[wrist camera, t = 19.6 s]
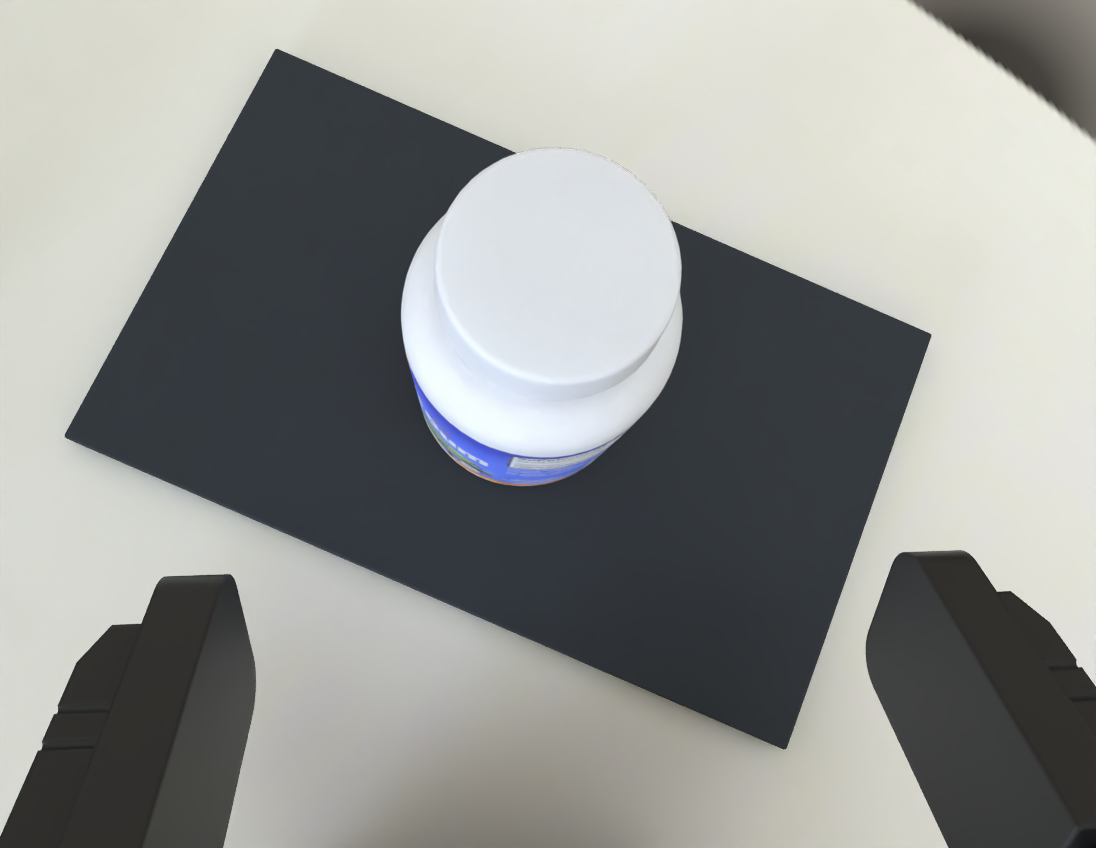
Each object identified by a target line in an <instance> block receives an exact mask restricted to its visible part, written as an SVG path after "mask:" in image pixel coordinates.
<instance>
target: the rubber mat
mask: <svg viewBox="0 0 1096 848" xmlns="http://www.w3.org/2000/svg"><path fill="white" fill-rule="evenodd" d="M513 154H516V153H515V152H512V151H510V150H508V149H506V148H503V147H501V146H499V145H496V144H494V143H492V142H490V141H487V140H485V139H483V138H480V137H478V136H476V135H474V134H471V133H469V132H467V131H464V130H462V129H460V128H457V127H455V126H453V125H451V124H448V123H446V122H444V121H441V120H439V119H437V118H435V117H432V116H430V115H428V114H425V113H423V112H421V111H419V110H416V109H414V108H412V107H409V106H407V105H405V104H402V103H400V102H398V101H396V100H393V99H391V98H389V97H386V96H384V95H382V94H380V93H377V92H375V91H373V90H370V89H368V88H366V87H364V86H361V85H359V84H357V83H354V82H352V81H350V80H347V79H345V78H343V77H341V76H338V75H336V74H334V73H331V72H329V71H327V70H325V69H322V68H320V67H318V66H315V65H313V64H311V63H309V62H306V61H304V60H302V59H299V58H297V57H295V56H292V55H290V54H288V53H286V52H283V51H281V50H279V49H276V50H275V51H274V53H273V55H272V57H271V58H270V60H269V62H268V64H267V66H266V67H265V69H264V71H263V73H262V75H261V77H260V78H259V80H258V82H257V84H256V86H255V88H254V89H253V91H252V93H251V95H250V97H249V99H248V100H247V102H246V104H245V106H244V108H243V110H242V111H241V113H240V115H239V117H238V119H237V121H236V122H235V124H234V126H233V128H232V130H231V132H230V133H229V135H228V137H227V139H226V141H225V143H224V144H223V146H222V148H221V150H220V152H219V154H218V155H217V157H216V159H215V161H214V163H213V164H212V166H211V168H210V170H209V172H208V174H207V175H206V177H205V179H204V181H203V183H202V185H201V186H200V188H199V190H198V192H197V194H196V196H195V197H194V199H193V201H192V203H191V205H190V207H189V208H188V210H187V212H186V214H185V216H184V218H183V219H182V221H181V223H180V225H179V227H178V229H177V230H176V232H175V234H174V236H173V238H172V240H171V241H170V243H169V245H168V247H167V249H166V251H165V252H164V254H163V256H162V258H161V260H160V262H159V263H158V265H157V267H156V269H155V271H154V272H153V274H152V276H151V278H150V280H149V282H148V283H147V285H146V287H145V289H144V291H143V293H142V294H141V296H140V298H139V300H138V302H137V304H136V305H135V307H134V309H133V311H132V313H131V315H130V316H129V318H128V320H127V322H126V324H125V326H124V327H123V329H122V331H121V333H120V335H119V337H118V338H117V340H116V342H115V344H114V346H113V348H112V349H111V351H110V353H109V355H108V357H107V359H106V360H105V362H104V364H103V366H102V368H101V369H100V371H99V373H98V375H97V377H96V379H95V380H94V382H93V384H92V386H91V388H90V390H89V391H88V393H87V395H86V397H85V399H84V401H83V402H82V404H81V406H80V408H79V410H78V412H77V413H76V415H75V417H74V419H73V421H72V423H71V424H70V426H69V428H68V430H67V432H66V434H65V437H66V438H67V439H69V440H72V441H74V442H76V443H79V444H81V445H83V446H85V447H88V448H90V449H92V450H95V451H97V452H99V453H102V454H104V455H106V456H108V457H111V458H113V459H115V460H118V461H120V462H122V463H125V464H127V465H129V466H132V467H134V468H136V469H138V470H141V471H143V472H145V473H148V474H150V475H152V476H155V477H157V478H159V479H162V480H164V481H166V482H168V483H171V484H173V485H175V486H178V487H180V488H182V489H185V490H187V491H189V492H191V493H194V494H196V495H198V496H201V497H203V498H205V499H208V500H210V501H212V502H215V503H217V504H219V505H221V506H224V507H226V508H228V509H231V510H233V511H235V512H238V513H240V514H242V515H244V516H247V517H249V518H251V519H254V520H256V521H258V522H261V523H263V524H265V525H268V526H270V527H272V528H274V529H277V530H279V531H281V532H284V533H286V534H288V535H291V536H293V537H295V538H298V539H300V540H302V541H304V542H307V543H309V544H311V545H314V546H316V547H318V548H321V549H323V550H325V551H327V552H330V553H332V554H334V555H337V556H339V557H341V558H344V559H346V560H348V561H351V562H353V563H355V564H357V565H360V566H362V567H364V568H367V569H369V570H371V571H374V572H376V573H378V574H380V575H383V576H385V577H387V578H390V579H392V580H394V581H397V582H399V583H401V584H404V585H406V586H408V587H410V588H413V589H415V590H417V591H420V592H422V593H424V594H427V595H429V596H431V597H434V598H436V599H438V600H440V601H443V602H445V603H447V604H450V605H452V606H454V607H457V608H459V609H461V610H463V611H466V612H468V613H470V614H473V615H475V616H477V617H480V618H482V619H484V620H487V621H489V622H491V623H493V624H496V625H498V626H500V627H503V628H505V629H507V630H510V631H512V632H514V633H516V634H519V635H521V636H523V637H526V638H528V639H530V640H533V641H535V642H537V643H540V644H542V645H544V646H546V647H549V648H551V649H553V650H556V651H558V652H560V653H563V654H565V655H567V656H570V657H572V658H574V659H576V660H579V661H581V662H583V663H586V664H588V665H590V666H593V667H595V668H597V669H599V670H602V671H604V672H606V673H609V674H611V675H613V676H616V677H618V678H620V679H623V680H625V681H627V682H629V683H632V684H634V685H636V686H639V687H641V688H643V689H646V690H648V691H650V692H652V693H655V694H657V695H659V696H662V697H664V698H666V699H669V700H671V701H673V702H676V703H678V704H680V705H682V706H685V707H687V708H689V709H692V710H694V711H696V712H699V713H701V714H703V715H706V716H708V717H710V718H712V719H715V720H717V721H719V722H722V723H724V724H726V725H729V726H731V727H733V728H735V729H738V730H740V731H742V732H745V733H747V734H749V735H752V736H754V737H756V738H759V739H761V740H763V741H765V742H768V743H770V744H772V745H775V746H777V747H779V748H782V749H786V748H787V746H788V743H789V740H790V737H791V734H792V732H793V729H794V726H795V723H796V720H797V717H798V714H799V712H800V709H801V706H802V703H803V700H804V697H805V694H806V692H807V689H808V686H809V683H810V680H811V677H812V675H813V672H814V669H815V666H816V663H817V660H818V657H819V655H820V652H821V649H822V646H823V643H824V640H825V638H826V635H827V632H828V629H829V626H830V623H831V620H832V618H833V615H834V612H835V609H836V606H837V603H838V600H839V598H840V595H841V592H842V589H843V586H844V583H845V581H846V578H847V575H848V572H849V569H850V566H851V563H852V561H853V558H854V555H855V552H856V549H857V546H858V544H859V541H860V538H861V535H862V532H863V529H864V526H865V524H866V521H867V518H868V515H869V512H870V509H871V506H872V504H873V501H874V498H875V495H876V492H877V489H878V487H879V484H880V481H881V478H882V475H883V472H884V469H885V467H886V464H887V461H888V458H889V455H890V452H891V450H892V447H893V444H894V441H895V438H896V435H897V432H898V430H899V427H900V424H901V421H902V418H903V415H904V413H905V410H906V407H907V404H908V401H909V398H910V395H911V393H912V390H913V387H914V384H915V381H916V378H917V375H918V373H919V370H920V367H921V364H922V361H923V358H924V356H925V353H926V350H927V347H928V344H929V341H930V338H931V334H930V333H927V332H925V331H923V330H920V329H918V328H916V327H914V326H911V325H909V324H907V323H904V322H902V321H900V320H897V319H895V318H893V317H891V316H888V315H886V314H884V313H881V312H879V311H877V310H875V309H872V308H870V307H868V306H865V305H863V304H861V303H859V302H856V301H854V300H852V299H849V298H847V297H845V296H842V295H840V294H838V293H836V292H833V291H831V290H829V289H826V288H824V287H822V286H820V285H817V284H815V283H813V282H810V281H808V280H806V279H804V278H801V277H799V276H797V275H794V274H792V273H790V272H787V271H785V270H783V269H781V268H778V267H776V266H774V265H771V264H769V263H767V262H765V261H762V260H760V259H758V258H755V257H753V256H751V255H749V254H746V253H744V252H742V251H739V250H737V249H735V248H732V247H730V246H728V245H726V244H723V243H721V242H719V241H716V240H714V239H712V238H710V237H707V236H705V235H703V234H700V233H698V232H696V231H694V230H691V229H689V228H687V227H684V226H682V225H680V224H677V223H675V222H673V221H671V220H670V221H671V223H672V226H673V228H674V231H675V234H676V237H677V240H678V245H679V249H680V256H681V265H682V270H681V285H680V297H681V304H682V316H683V321H682V332H681V340H680V346H679V351H678V355H677V358H676V361H675V364H674V367H673V369H672V372H671V374H670V376H669V378H668V380H667V382H666V384H665V386H664V388H663V389H662V391H661V393H660V394H659V396H658V397H657V398H656V400H655V401H654V402H653V403H652V405H651V406H650V407H649V408H648V410H647V411H646V412H645V413H644V414H643V415H642V416H641V417H640V418H639V419H638V420H637V422H635V423H634V424H633V425H632V426H631V427H630V428H629V429H628V430H627V431H626V432H625V433H624V434H623V435H622V436H621V437H620V438H619V439H617V440H616V441H615V442H614V443H613V444H612V445H611V446H610V447H609V448H607V449H606V450H605V451H604V452H603V453H602V454H601V455H600V456H599V457H597V458H596V459H595V460H594V461H593V462H591V463H590V464H589V465H587V466H586V467H585V468H583V469H581V470H580V471H578V472H577V473H575V474H573V475H571V476H569V477H566V478H564V479H561V480H558V481H555V482H552V483H547V484H542V485H534V486H515V485H505V484H500V483H496V482H492V481H489V480H486V479H484V478H481V477H479V476H477V475H475V474H473V473H471V472H470V471H468V470H467V469H465V468H464V467H462V466H461V465H460V464H458V463H457V462H456V461H454V460H453V459H452V458H451V457H450V456H449V455H448V454H447V453H446V452H445V450H444V449H443V448H442V447H441V446H440V444H439V443H438V442H437V440H436V439H435V437H434V436H433V434H432V432H431V430H430V429H429V427H428V425H427V422H426V420H425V418H424V415H423V412H422V409H421V405H420V402H419V398H418V395H417V391H416V388H415V384H414V380H413V377H412V374H411V371H410V367H409V364H408V360H407V356H406V351H405V346H404V341H403V334H402V324H401V305H402V296H403V290H404V285H405V280H406V276H407V273H408V270H409V267H410V265H411V262H412V260H413V258H414V255H415V253H416V251H417V249H418V248H419V246H420V244H421V243H422V241H423V239H424V238H425V237H426V235H427V234H428V232H429V231H430V230H431V229H432V228H433V226H434V225H435V224H436V223H437V222H438V221H439V220H440V219H441V218H442V217H443V216H444V215H445V214H446V213H447V211H448V209H449V207H450V206H451V204H452V203H453V201H454V200H455V198H456V197H457V195H458V194H459V193H460V191H461V190H462V189H463V188H464V187H465V186H466V185H467V184H468V183H469V182H470V181H471V180H472V179H473V178H474V177H475V176H476V175H478V174H479V173H480V172H481V171H482V170H484V169H486V168H487V167H489V166H491V165H492V164H494V163H496V162H497V161H499V160H501V159H503V158H506V157H508V156H511V155H513Z"/></svg>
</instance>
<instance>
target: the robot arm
mask: <svg viewBox="0 0 1096 848" xmlns="http://www.w3.org/2000/svg"><path fill="white" fill-rule="evenodd" d="M866 662H867V668H868V672H869V676H870V679H871V682H872V685H873V687H874V689H875V691H876V694H877V696H878V698H879V700H880V702H881V704H882V706H883V709H884V711H885V713H886V715H887V717H888V719H889V721H890V724H891V726H892V728H893V730H894V732H895V734H896V736H897V739H898V741H899V743H900V745H901V747H902V749H903V751H904V753H905V756H906V758H907V760H908V762H909V764H910V766H911V768H912V771H913V773H914V775H915V777H916V779H917V781H918V783H919V786H920V788H921V790H922V792H923V794H924V796H925V798H926V801H927V803H928V805H929V807H930V809H931V811H932V813H933V815H934V818H935V820H936V822H937V824H938V826H939V828H940V830H941V833H942V835H943V837H944V839H945V841H946V843H947V845H948V848H1096V686H1095V685H1094V683H1093V682H1092V681H1091V679H1090V678H1089V677H1088V675H1087V674H1086V672H1085V671H1084V670H1083V668H1082V667H1079V668H1078V667H1077V665H1076V658H1075V657H1074V656H1073V654H1072V653H1071V651H1070V650H1069V649H1068V647H1067V646H1066V644H1065V643H1064V642H1063V640H1062V639H1061V637H1060V636H1059V635H1058V633H1057V632H1056V631H1055V629H1054V628H1053V626H1052V625H1051V624H1050V622H1048V621H1047V620H1046V619H1045V618H1043V617H1042V616H1041V615H1040V614H1038V613H1037V612H1036V611H1035V610H1033V609H1032V608H1031V607H1030V606H1028V605H1027V604H1026V603H1025V602H1024V601H1022V600H1021V599H1020V598H1019V597H1017V596H1016V595H1015V594H1014V593H1012V592H1011V591H1005V592H997V591H996V590H995V588H994V587H993V585H992V584H991V582H990V581H989V579H988V578H987V576H986V575H985V573H984V572H983V570H982V569H981V568H980V566H979V565H978V563H977V562H976V560H975V559H974V558H973V557H972V556H971V555H970V554H969V553H967V552H965V551H962V550H956V551H928V552H903V553H900V554H899V555H898V556H897V557H896V558H895V560H894V561H893V564H892V566H891V569H890V572H889V575H888V578H887V580H886V583H885V586H884V589H883V592H882V594H881V597H880V600H879V603H878V606H877V609H876V611H875V614H874V617H873V620H872V623H871V626H870V628H869V631H868V635H867V640H866ZM255 692H256V671H255V661H254V656H253V652H252V648H251V644H250V640H249V635H248V631H247V627H246V623H245V619H244V615H243V610H242V606H241V602H240V598H239V594H238V590H237V586H236V582H235V580H234V578H233V577H232V575H230V574H224V575H196V576H168V577H163V578H161V579H160V581H159V582H158V584H157V585H156V587H155V590H154V592H153V595H152V597H151V600H150V603H149V605H148V608H147V611H146V613H145V616H144V618H143V621H142V624H125V625H112V626H111V627H110V628H109V629H108V630H107V631H106V632H105V633H104V634H103V635H102V636H101V637H100V638H99V639H98V641H97V642H96V643H95V644H94V645H93V646H92V647H91V648H90V649H89V650H88V651H87V652H86V653H85V654H84V655H83V656H82V658H81V659H80V660H79V661H78V662H77V663H76V665H75V668H74V670H73V672H72V674H71V677H70V679H69V681H68V684H67V686H66V688H65V690H64V693H63V695H62V697H61V700H60V702H59V704H58V713H57V714H54V715H53V718H52V720H51V722H50V725H49V727H48V729H47V731H46V734H45V736H44V738H43V741H42V743H43V746H42V750H41V751H38V752H37V754H36V756H35V759H34V761H33V763H32V766H31V768H30V770H29V772H28V775H27V777H26V779H25V782H24V784H23V786H22V788H21V791H20V793H19V795H18V797H17V800H16V802H15V804H14V807H13V809H12V811H11V813H10V816H9V818H8V820H7V823H6V825H5V827H4V829H3V832H2V834H1V836H0V848H223V846H224V841H225V837H226V832H227V828H228V823H229V819H230V814H231V810H232V805H233V801H234V796H235V792H236V787H237V783H238V778H239V774H240V769H241V765H242V760H243V756H244V751H245V747H246V742H247V738H248V733H249V729H250V724H251V720H252V715H253V710H254V703H255Z"/></svg>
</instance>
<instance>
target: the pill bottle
mask: <svg viewBox="0 0 1096 848" xmlns="http://www.w3.org/2000/svg"><path fill="white" fill-rule="evenodd" d="M681 270H682V265H681V256H680V249H679V245H678V240H677V237H676V234H675V231H674V228H673V226H672V223H671V221H670V219H669V217H668V215H667V213H666V212H665V210H664V208H663V206H662V205H661V203H660V202H659V201H658V199H657V198H656V197H655V195H654V194H653V193H652V192H651V190H650V189H649V188H648V187H647V186H646V185H645V184H644V183H643V182H642V181H641V180H639V179H638V178H637V177H636V176H635V175H633V174H632V173H631V172H629V171H628V170H627V169H625V168H624V167H622V166H620V165H619V164H617V163H615V162H613V161H612V160H608V159H607V158H605V157H602V156H599V155H596V154H593V153H590V152H587V151H583V150H577V149H570V148H561V147H553V148H539V149H532V150H527V151H523V152H519V153H516V154H513V155H511V156H508V157H506V158H503V159H501V160H499V161H497V162H496V163H494V164H492V165H491V166H489V167H487V168H486V169H484V170H482V171H481V172H480V173H479V174H478V175H476V176H475V177H474V178H473V179H472V180H471V181H470V182H469V183H468V184H467V185H466V186H465V187H464V188H463V189H462V190H461V191H460V193H459V194H458V195H457V197H456V198H455V200H454V201H453V203H452V204H451V206H450V207H449V209H448V211H447V213H446V214H445V215H444V216H443V217H442V218H441V219H440V220H439V221H438V222H437V223H436V224H435V225H434V226H433V228H432V229H431V230H430V231H429V232H428V234H427V235H426V237H425V238H424V239H423V241H422V243H421V244H420V246H419V248H418V249H417V251H416V253H415V255H414V258H413V260H412V262H411V265H410V267H409V270H408V273H407V276H406V280H405V285H404V290H403V296H402V305H401V324H402V334H403V341H404V346H405V351H406V356H407V360H408V364H409V367H410V371H411V374H412V377H413V380H414V384H415V388H416V391H417V395H418V398H419V402H420V405H421V409H422V412H423V415H424V418H425V420H426V422H427V425H428V427H429V429H430V430H431V432H432V434H433V436H434V437H435V439H436V440H437V442H438V443H439V444H440V446H441V447H442V448H443V449H444V450H445V452H446V453H447V454H448V455H449V456H450V457H451V458H452V459H453V460H454V461H456V462H457V463H458V464H460V465H461V466H462V467H464V468H465V469H467V470H468V471H470V472H471V473H473V474H475V475H477V476H479V477H481V478H484V479H486V480H489V481H492V482H496V483H500V484H505V485H515V486H534V485H542V484H547V483H552V482H555V481H558V480H561V479H564V478H566V477H569V476H571V475H573V474H575V473H577V472H578V471H580V470H581V469H583V468H585V467H586V466H587V465H589V464H590V463H591V462H593V461H594V460H595V459H596V458H597V457H599V456H600V455H601V454H602V453H603V452H604V451H605V450H606V449H607V448H609V447H610V446H611V445H612V444H613V443H614V442H615V441H616V440H617V439H619V438H620V437H621V436H622V435H623V434H624V433H625V432H626V431H627V430H628V429H629V428H630V427H631V426H632V425H633V424H634V423H635V422H637V420H638V419H639V418H640V417H641V416H642V415H643V414H644V413H645V412H646V411H647V410H648V408H649V407H650V406H651V405H652V403H653V402H654V401H655V400H656V398H657V397H658V396H659V394H660V393H661V391H662V389H663V388H664V386H665V384H666V382H667V380H668V378H669V376H670V374H671V372H672V369H673V367H674V364H675V361H676V358H677V355H678V351H679V346H680V340H681V332H682V321H683V316H682V304H681V297H680V285H681Z"/></svg>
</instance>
